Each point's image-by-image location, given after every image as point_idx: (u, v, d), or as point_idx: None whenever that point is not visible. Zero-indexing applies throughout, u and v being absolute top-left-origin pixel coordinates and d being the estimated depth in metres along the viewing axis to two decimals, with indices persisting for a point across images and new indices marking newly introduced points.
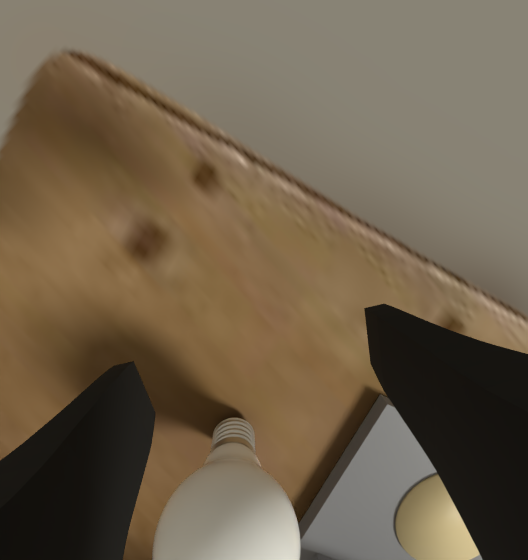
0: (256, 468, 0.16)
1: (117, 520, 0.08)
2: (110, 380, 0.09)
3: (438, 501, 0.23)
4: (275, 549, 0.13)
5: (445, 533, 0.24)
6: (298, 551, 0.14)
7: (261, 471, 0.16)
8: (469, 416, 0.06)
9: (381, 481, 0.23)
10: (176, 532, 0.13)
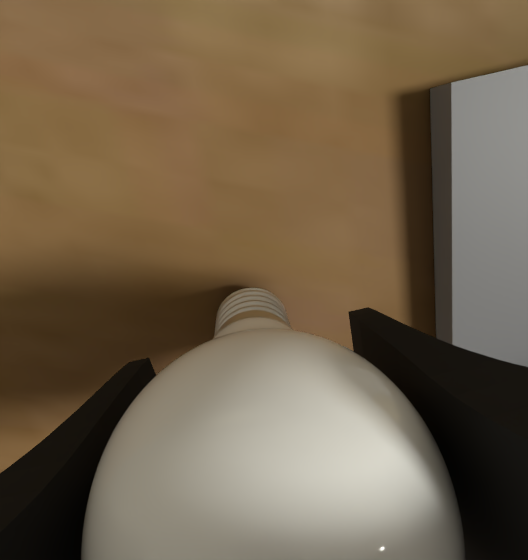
0: (230, 335, 0.07)
1: None
2: (127, 376, 0.09)
3: None
4: (330, 497, 0.04)
5: None
6: (417, 443, 0.05)
7: (242, 333, 0.06)
8: (442, 422, 0.06)
9: (525, 225, 0.12)
10: None
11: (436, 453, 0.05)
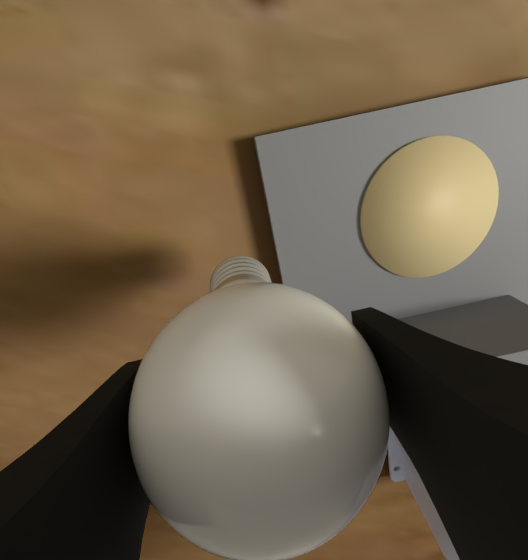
0: (227, 287, 0.09)
1: (134, 516, 0.08)
2: (125, 376, 0.09)
3: (398, 201, 0.18)
4: (297, 376, 0.06)
5: (434, 230, 0.19)
6: (357, 352, 0.07)
7: (236, 285, 0.09)
8: (446, 421, 0.06)
9: (321, 225, 0.19)
10: (133, 451, 0.07)
11: (371, 360, 0.08)
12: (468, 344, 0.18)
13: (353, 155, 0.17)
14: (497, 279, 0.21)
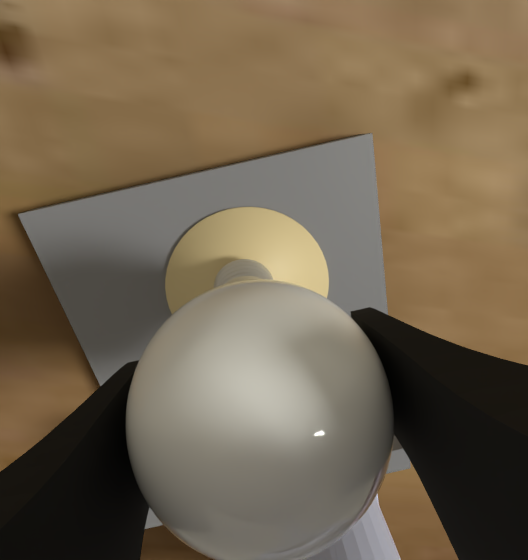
0: (228, 283, 0.09)
1: (134, 516, 0.08)
2: (126, 376, 0.09)
3: (208, 279, 0.16)
4: (296, 369, 0.06)
5: None
6: (360, 348, 0.07)
7: (237, 281, 0.09)
8: (445, 422, 0.06)
9: (123, 306, 0.16)
10: (129, 447, 0.07)
11: (375, 358, 0.07)
12: None
13: (143, 230, 0.15)
14: None
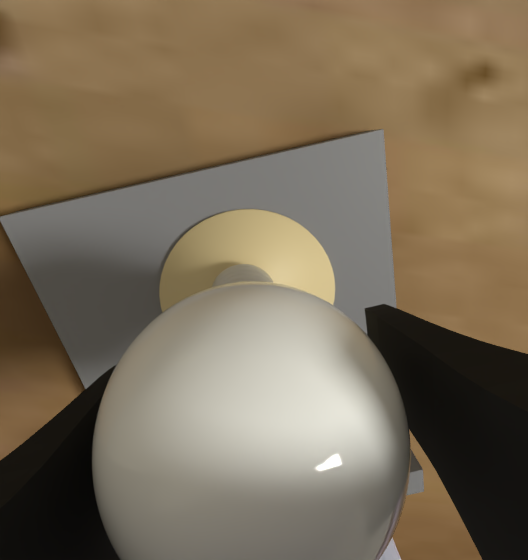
0: (218, 285, 0.08)
1: None
2: None
3: (205, 287, 0.15)
4: (291, 387, 0.05)
5: None
6: (369, 361, 0.06)
7: (228, 283, 0.07)
8: (469, 416, 0.06)
9: (114, 315, 0.15)
10: (93, 477, 0.06)
11: (387, 373, 0.06)
12: None
13: (135, 235, 0.14)
14: None
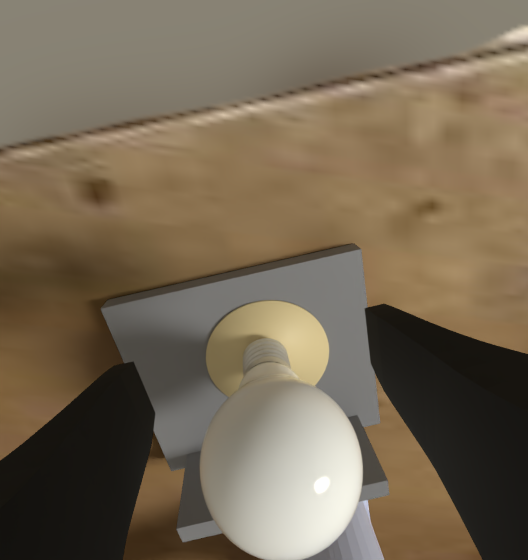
0: (261, 382, 0.14)
1: (117, 520, 0.08)
2: (111, 380, 0.09)
3: (238, 351, 0.21)
4: (302, 449, 0.11)
5: None
6: (340, 432, 0.12)
7: (267, 382, 0.14)
8: (469, 416, 0.06)
9: (173, 370, 0.21)
10: (206, 488, 0.12)
11: (350, 436, 0.13)
12: None
13: (191, 317, 0.20)
14: (343, 403, 0.23)
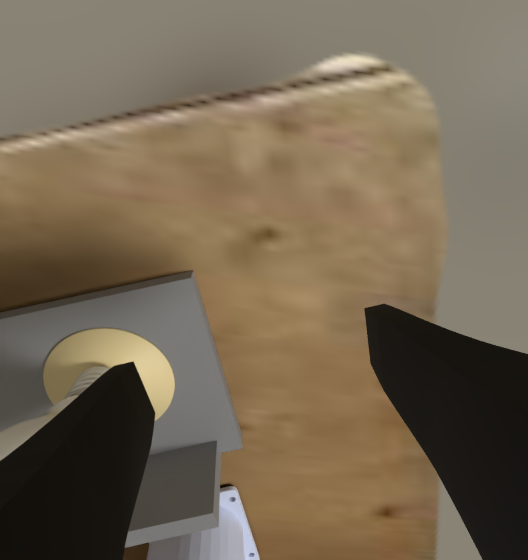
0: (18, 424, 0.14)
1: (117, 520, 0.08)
2: (110, 380, 0.09)
3: None
4: None
5: None
6: None
7: (21, 424, 0.13)
8: (469, 416, 0.06)
9: (13, 396, 0.21)
10: None
11: None
12: None
13: (23, 345, 0.20)
14: (200, 429, 0.23)
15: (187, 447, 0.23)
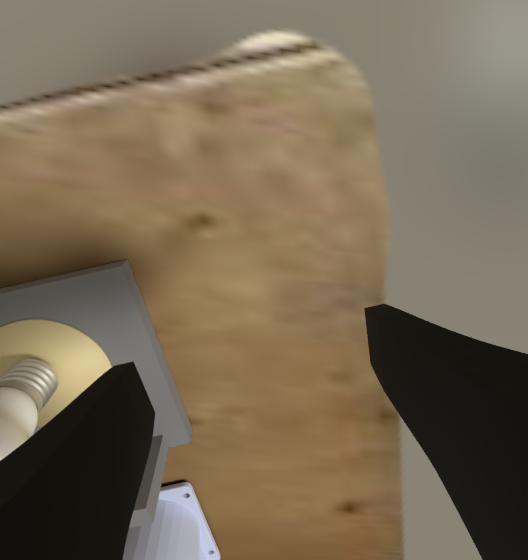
0: None
1: (117, 520, 0.08)
2: (110, 379, 0.09)
3: None
4: None
5: (57, 390, 0.21)
6: None
7: None
8: (469, 416, 0.06)
9: None
10: None
11: None
12: None
13: None
14: None
15: None
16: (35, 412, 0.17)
